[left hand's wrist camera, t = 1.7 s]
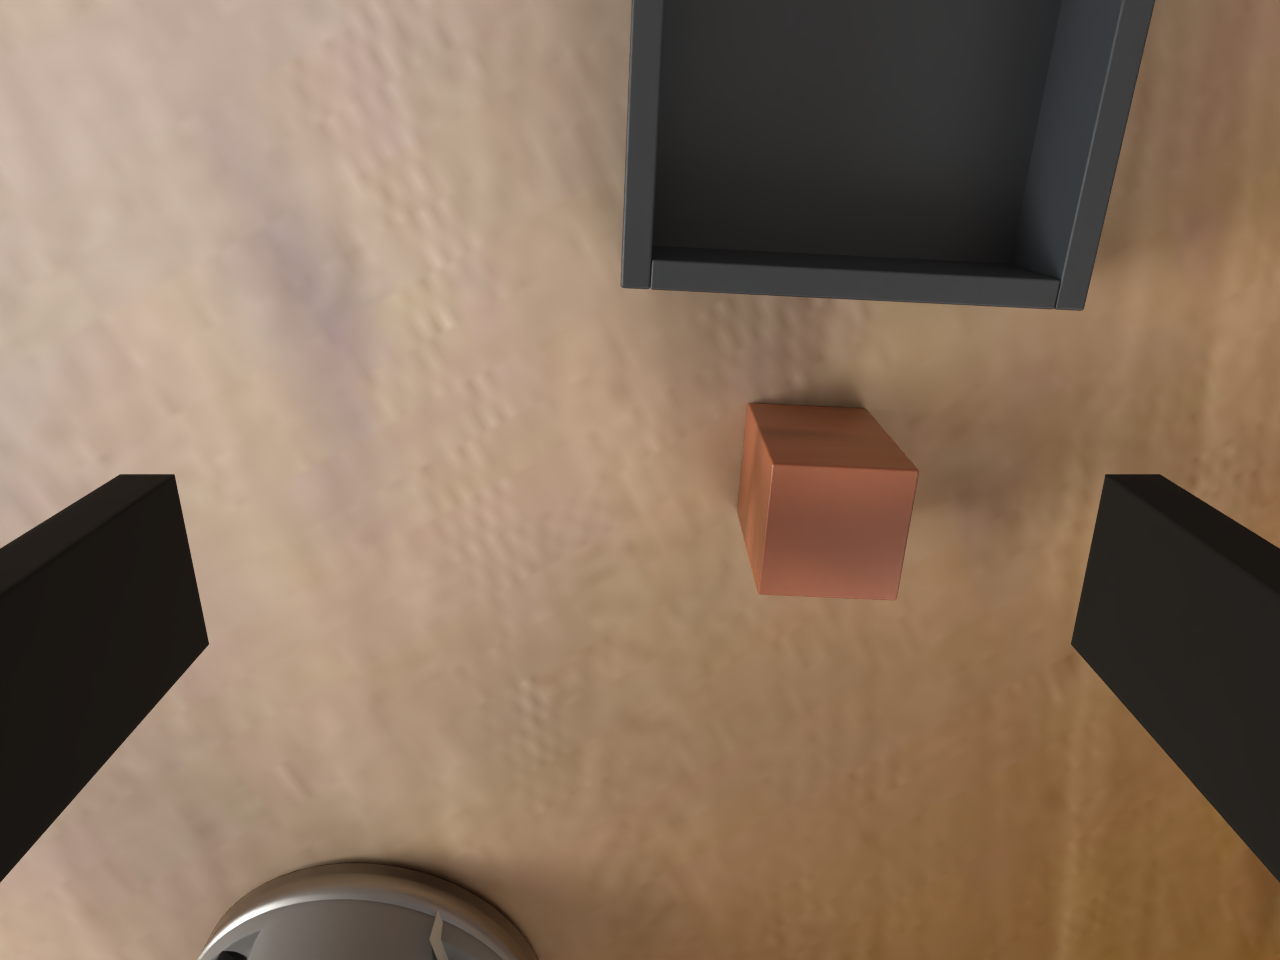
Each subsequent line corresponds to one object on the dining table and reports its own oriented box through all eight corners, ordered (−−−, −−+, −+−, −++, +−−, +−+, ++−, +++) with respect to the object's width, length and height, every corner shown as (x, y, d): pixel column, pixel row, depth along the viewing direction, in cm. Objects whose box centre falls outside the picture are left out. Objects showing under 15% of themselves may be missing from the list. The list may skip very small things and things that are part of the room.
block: (850, 517, 30) (897, 601, 25) (737, 512, 30) (757, 595, 25) (866, 408, 29) (920, 470, 23) (747, 402, 29) (772, 463, 23)
